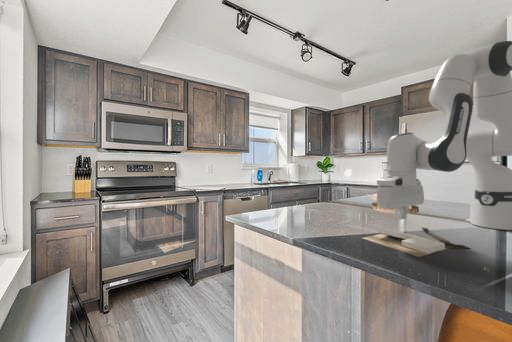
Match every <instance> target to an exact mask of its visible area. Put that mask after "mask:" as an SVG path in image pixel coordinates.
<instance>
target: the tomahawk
mask: <svg viewBox="0 0 512 342" xmlns="http://www.w3.org/2000/svg"><path fill="white" fill-rule="evenodd" d="M421 230H423V232H424V233H426V234H428V235H429V236H430V237H432V238H434V239H436V240H438V241H439V242H441V243H444V244H445V246H453V247H452V248H459V249H460V248H461V249H468V250H471V249H472V248H471V247H469V246H466V245H464V244H455V243H453V242H450V241H449V240H447V239H445V238H443V237H441V236H440V235H438V234H436V233H434V232H432V231H431V232H430V230H429V229H428V228H426V227H421Z"/></svg>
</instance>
